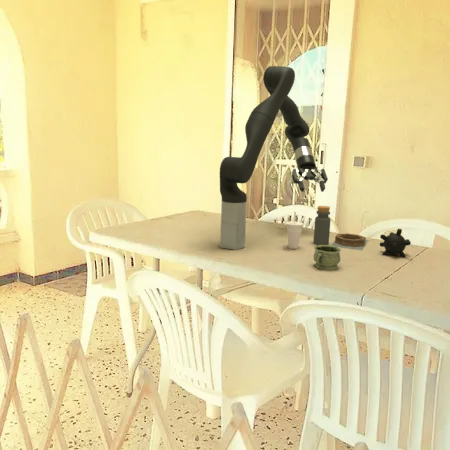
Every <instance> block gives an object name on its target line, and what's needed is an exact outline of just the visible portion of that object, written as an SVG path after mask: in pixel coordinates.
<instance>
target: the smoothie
mask: <svg viewBox="0 0 450 450" xmlns="http://www.w3.org/2000/svg"><path fill="white" fill-rule="evenodd" d="M296 216H297V215H296V211H293V221H287V222H285V226H286V232H287V234H286V235H287V248H288V249H291V250H294V251H295V250H296V249H297V250H298V249H299V247H300V242H301V237H302V231H303V227H304V223H303V222H301V221H296Z"/></svg>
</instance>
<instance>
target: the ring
mask: <svg viewBox="0 0 450 450" xmlns="http://www.w3.org/2000/svg"><path fill="white" fill-rule="evenodd" d="M365 240H367V238H366V236H363V235H360V234H355V233H337V234H336V235H335V237H334V241H335V243H337V244H340V245H343V246H350V247H359V246H364V245H365ZM365 246H366V245H365Z"/></svg>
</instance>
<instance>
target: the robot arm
mask: <svg viewBox="0 0 450 450" xmlns="http://www.w3.org/2000/svg"><path fill="white" fill-rule="evenodd" d="M295 79H296V73H295V70H294V69H293V68H292V67H289V66H281V65H280V66H279V65H278V66H277V65H270V66H267V68H266V69H265V70H264V73H263V80H262V81H263V85H264V87H265V89H266V90H267V92H268V94H269V95H270V96H268V97H267V98H265V99H264V100H263V101H262V102H261V101H260V103H259V104H258V105H256V107H254V108H253V109H252V111H251V113H249V117H248V119H247V121H246V123H245V127H244V129H245V138H246V146H245V150H244V152H243V153H242V155H241V157H240V156H239V157H237V156H236V157H235V156H226V157H224V158H223V159H222V160H221V163H220V165H219V193H220V195H221V196H220V197H221V206H220V207H221V208H220V209H221V211H220V238H219V239H220V241H219V242H220V243H219V247H220V248H221V249H228V250H235V251H237V250H239V249H244V248H245V246H246V225H247V224H246V223H247V199H248V195H247V193H246V192H244V191H243V190H242V189H240V187H239V186H238V184H247V183H248V182H249V181H250V180H251V178H252V176H253V174H254V171H255V168H256V165H257V162H258V161H259V160H258V159H259V157H260V153H261V151H262V148H263V146H264V144H265V142H266V139H267V137H268V135H269V133H270V132H271V130H272V127H273V125H274V122H275V120H276V118H277V115H278V114H279V111H280V112H281V116H282V118H283V120H284V122H285V124H286V127H285V129H284V134H285V137H286V138H287V140H288V141H289V143H290V144H291V146H292V148H293V153H294V160H295V163H296V166H297V169H296V168H293V169H292V171H291V178H292V182H293V184H297V185H298V188H299V191H301V193H304V192H305V190H306V189H305V185H304V180H305V181H313V182H316V183H317V184H319V187H320V192H321V193H323V192H324V191H325V190H326V184H327V182H328V180H329V179H328V176H327V173H326V170H325V169H324V168H321V169H317V165H316V162H315V157H314V154H313V151H312V149H311V145H310V143H309V139H308V138H306V137H307V136H308V135H309V134H310V126H309V124H308V123H307V121H306V120H305V119H304V118H303V117H302V115H301V114H300V110H299V108H298V105H297V104H296V102H295V101H294V100H293V99H292V98H291V97H290V96H289V94H290V92H291V91H292V89H293V86H294V83H295ZM298 175H299V176H300V178H298Z"/></svg>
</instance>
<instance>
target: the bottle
mask: <svg viewBox="0 0 450 450" xmlns="http://www.w3.org/2000/svg"><path fill="white" fill-rule="evenodd" d="M330 210H331V207H330V206H327V205H318V206H317V210H316V214H317V216H315V218H314V227H313V228H314V230H313V232H314V233H313V242H312V243H313V245H315V246H318V245H329V243H330V233H331V231H330V230H331V218H330V217H329V216H330V215H331V211H330Z"/></svg>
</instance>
